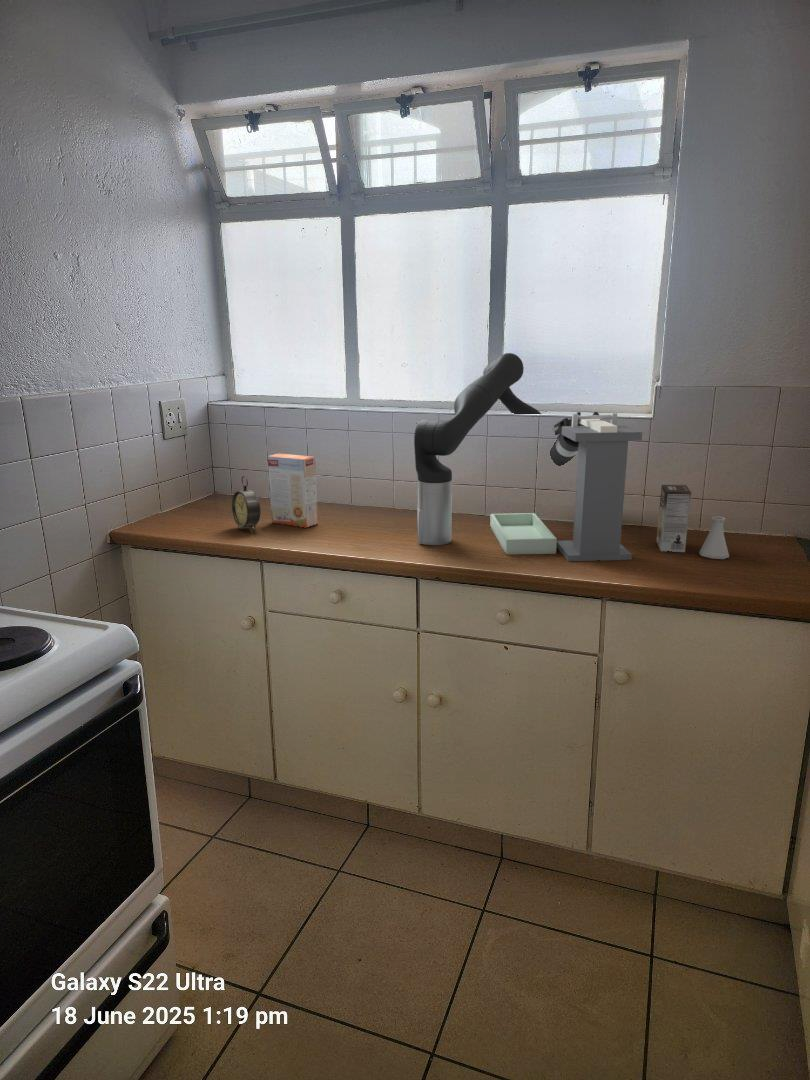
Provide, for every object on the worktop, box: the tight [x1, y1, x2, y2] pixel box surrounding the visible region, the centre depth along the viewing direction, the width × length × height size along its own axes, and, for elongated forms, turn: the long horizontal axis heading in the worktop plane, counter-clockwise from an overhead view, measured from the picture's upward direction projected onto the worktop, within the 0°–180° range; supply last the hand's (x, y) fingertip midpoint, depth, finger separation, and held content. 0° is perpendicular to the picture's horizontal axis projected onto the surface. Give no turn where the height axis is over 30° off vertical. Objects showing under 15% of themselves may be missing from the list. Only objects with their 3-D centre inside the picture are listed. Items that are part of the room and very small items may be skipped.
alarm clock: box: [231, 475, 261, 534], centre depth 204 cm, size 11×5×16 cm, turn 37°
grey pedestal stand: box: [556, 412, 643, 562], centre depth 176 cm, size 16×13×35 cm
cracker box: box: [267, 453, 319, 529], centre depth 210 cm, size 14×6×21 cm, turn 58°
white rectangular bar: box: [579, 419, 618, 433], centre depth 176 cm, size 4×22×2 cm, turn 2°
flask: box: [698, 515, 730, 560], centre depth 177 cm, size 7×7×10 cm
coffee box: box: [656, 484, 692, 553], centre depth 183 cm, size 9×6×16 cm
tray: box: [489, 512, 558, 556], centre depth 193 cm, size 13×27×4 cm, turn 2°
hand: (588, 415), depth 182 cm, fingers closed on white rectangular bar, 4 cm apart
